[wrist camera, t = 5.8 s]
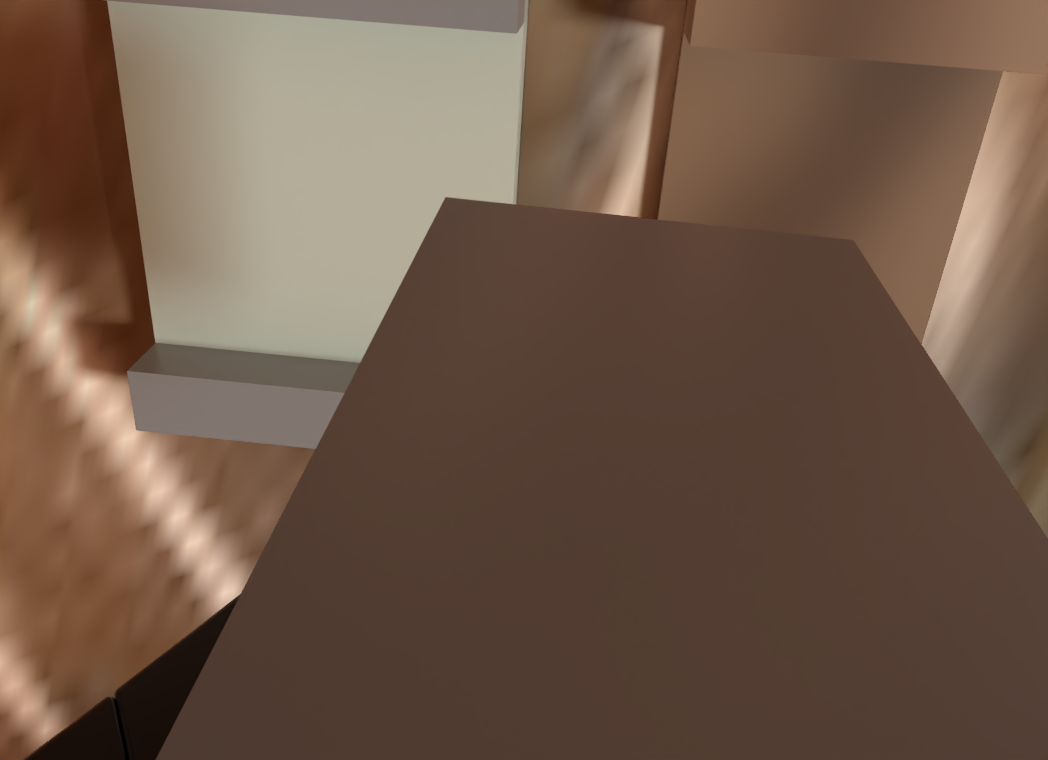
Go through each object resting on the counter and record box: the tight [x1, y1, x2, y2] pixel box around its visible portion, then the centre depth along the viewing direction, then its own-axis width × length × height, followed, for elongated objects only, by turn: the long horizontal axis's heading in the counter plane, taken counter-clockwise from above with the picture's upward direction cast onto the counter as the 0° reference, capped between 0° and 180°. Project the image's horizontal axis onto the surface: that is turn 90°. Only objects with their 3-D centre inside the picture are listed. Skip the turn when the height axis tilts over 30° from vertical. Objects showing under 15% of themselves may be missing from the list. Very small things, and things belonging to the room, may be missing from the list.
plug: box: [156, 197, 1048, 760], centre depth 7 cm, size 4×6×8 cm, turn 176°
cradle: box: [105, 0, 529, 449], centre depth 19 cm, size 8×12×2 cm, turn 177°
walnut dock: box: [657, 0, 1048, 344], centre depth 19 cm, size 6×12×2 cm, turn 177°
